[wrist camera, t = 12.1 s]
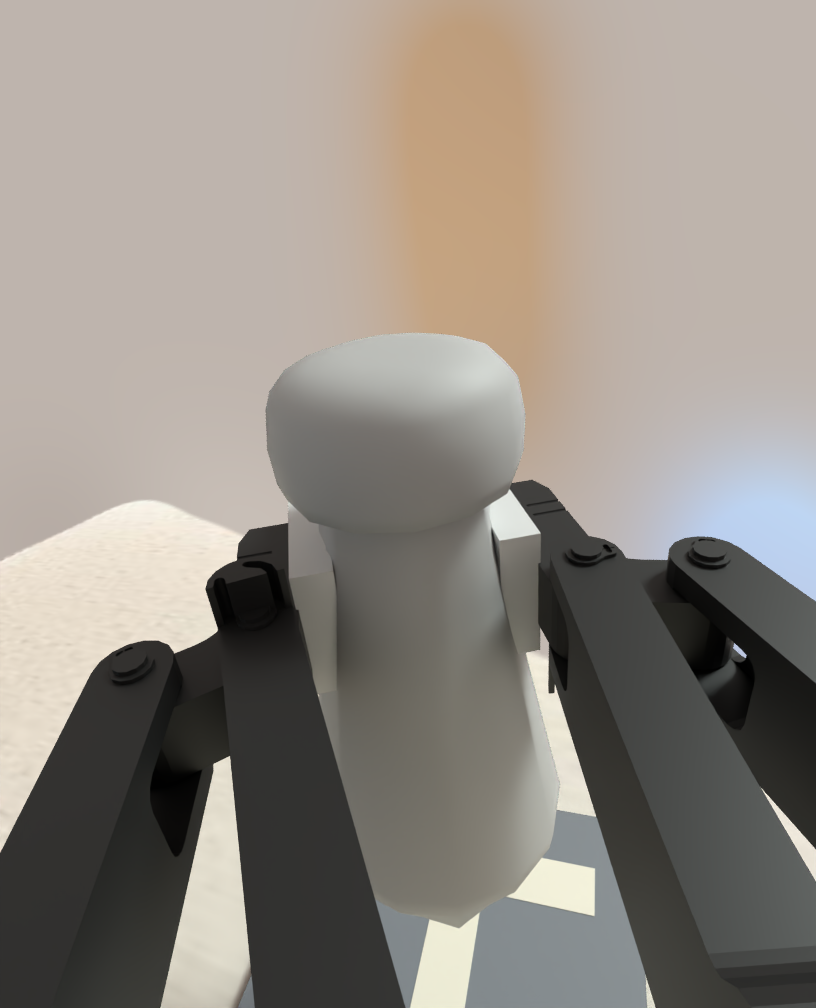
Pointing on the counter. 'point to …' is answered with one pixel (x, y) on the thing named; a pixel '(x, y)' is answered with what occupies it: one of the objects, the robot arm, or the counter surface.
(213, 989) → the counter surface
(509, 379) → the salt shaker
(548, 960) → the letter card
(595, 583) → the robot arm
